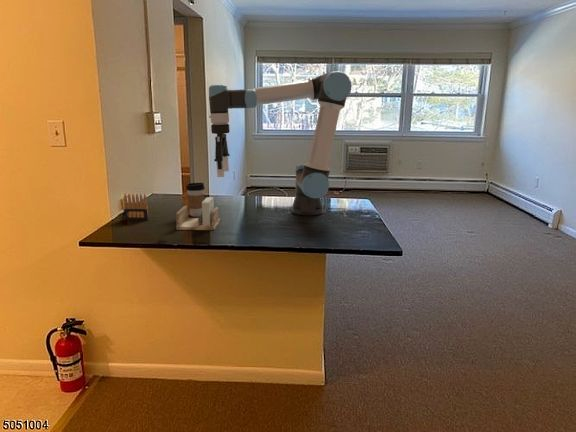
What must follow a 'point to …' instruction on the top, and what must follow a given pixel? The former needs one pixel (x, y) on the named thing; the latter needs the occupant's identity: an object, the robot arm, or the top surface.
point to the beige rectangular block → (207, 211)
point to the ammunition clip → (135, 208)
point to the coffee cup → (195, 197)
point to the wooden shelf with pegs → (195, 220)
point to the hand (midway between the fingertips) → (223, 174)
